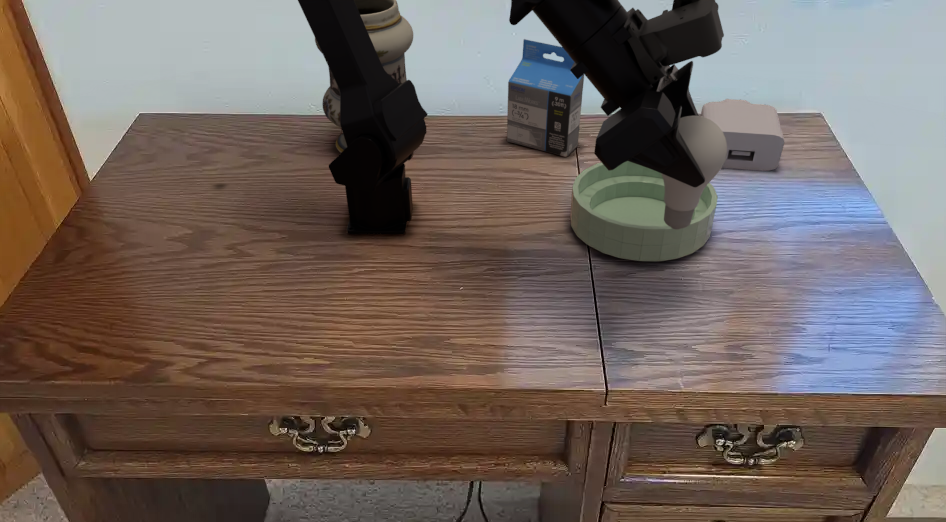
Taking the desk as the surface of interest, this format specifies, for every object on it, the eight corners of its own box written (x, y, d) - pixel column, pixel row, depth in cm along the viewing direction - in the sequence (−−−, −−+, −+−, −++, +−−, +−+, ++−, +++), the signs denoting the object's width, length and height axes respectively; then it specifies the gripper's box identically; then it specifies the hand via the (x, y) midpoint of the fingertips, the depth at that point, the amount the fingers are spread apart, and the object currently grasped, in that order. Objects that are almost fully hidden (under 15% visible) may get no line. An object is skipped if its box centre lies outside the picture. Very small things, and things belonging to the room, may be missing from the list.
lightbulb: (636, 237, 74) (654, 127, 67) (651, 206, 79) (669, 99, 72) (702, 251, 73) (728, 140, 66) (713, 218, 77) (738, 110, 70)
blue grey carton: (505, 142, 104) (506, 48, 96) (519, 131, 107) (522, 38, 99) (566, 158, 101) (573, 61, 93) (579, 146, 103) (587, 51, 95)
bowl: (574, 265, 83) (577, 228, 80) (566, 192, 94) (568, 157, 91) (722, 267, 82) (731, 229, 79) (695, 192, 94) (702, 158, 91)
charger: (764, 119, 109) (776, 172, 97) (695, 115, 110) (699, 166, 99) (773, 85, 106) (786, 135, 94) (701, 81, 107) (706, 130, 96)
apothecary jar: (350, 174, 98) (332, 25, 87) (314, 136, 106) (293, -4, 95) (436, 150, 103) (430, 6, 91) (395, 116, 111) (385, -20, 99)
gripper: (659, -1, 55) (785, 167, 59) (686, -68, 68) (787, 73, 73) (540, 95, 62) (662, 239, 66) (587, 17, 75) (685, 140, 80)
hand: (703, 167), depth 71 cm, fingers closed on lightbulb, 6 cm apart
